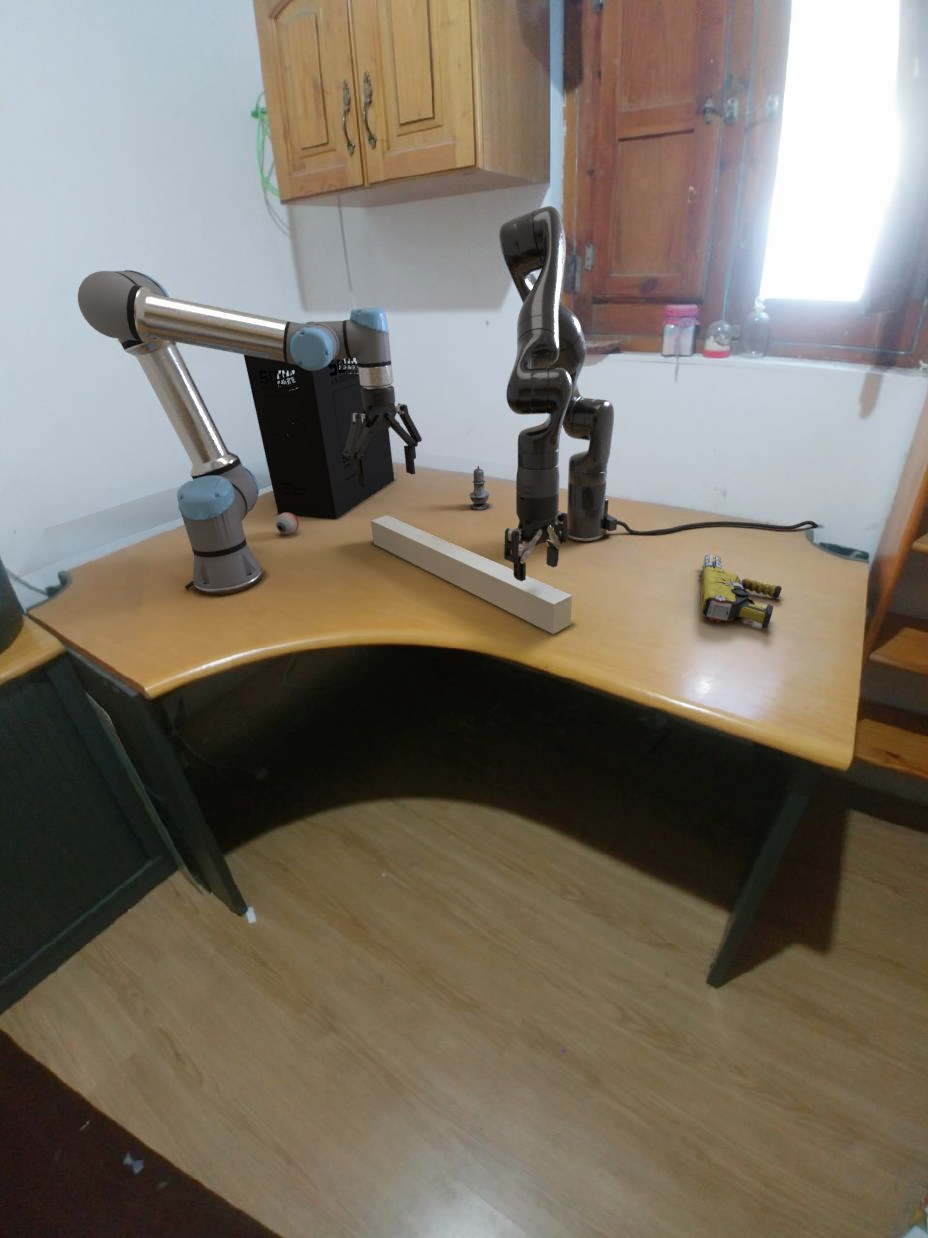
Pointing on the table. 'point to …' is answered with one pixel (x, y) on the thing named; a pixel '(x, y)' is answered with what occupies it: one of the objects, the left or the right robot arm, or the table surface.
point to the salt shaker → (479, 491)
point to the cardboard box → (314, 436)
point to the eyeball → (287, 523)
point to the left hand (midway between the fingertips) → (387, 479)
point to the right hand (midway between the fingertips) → (536, 572)
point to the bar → (476, 574)
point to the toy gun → (732, 595)
